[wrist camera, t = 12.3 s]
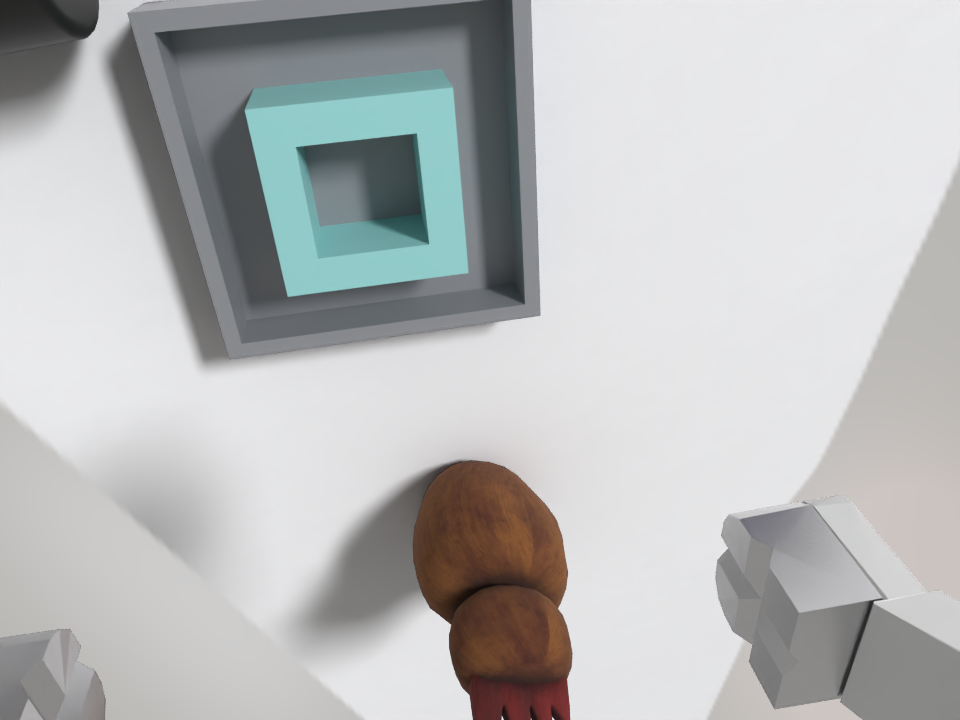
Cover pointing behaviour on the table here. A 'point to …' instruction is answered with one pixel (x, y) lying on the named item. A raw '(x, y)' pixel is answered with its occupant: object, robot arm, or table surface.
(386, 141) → the tray
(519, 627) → the wooden figurine
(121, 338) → the table surface
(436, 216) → the ring
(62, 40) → the end cap
